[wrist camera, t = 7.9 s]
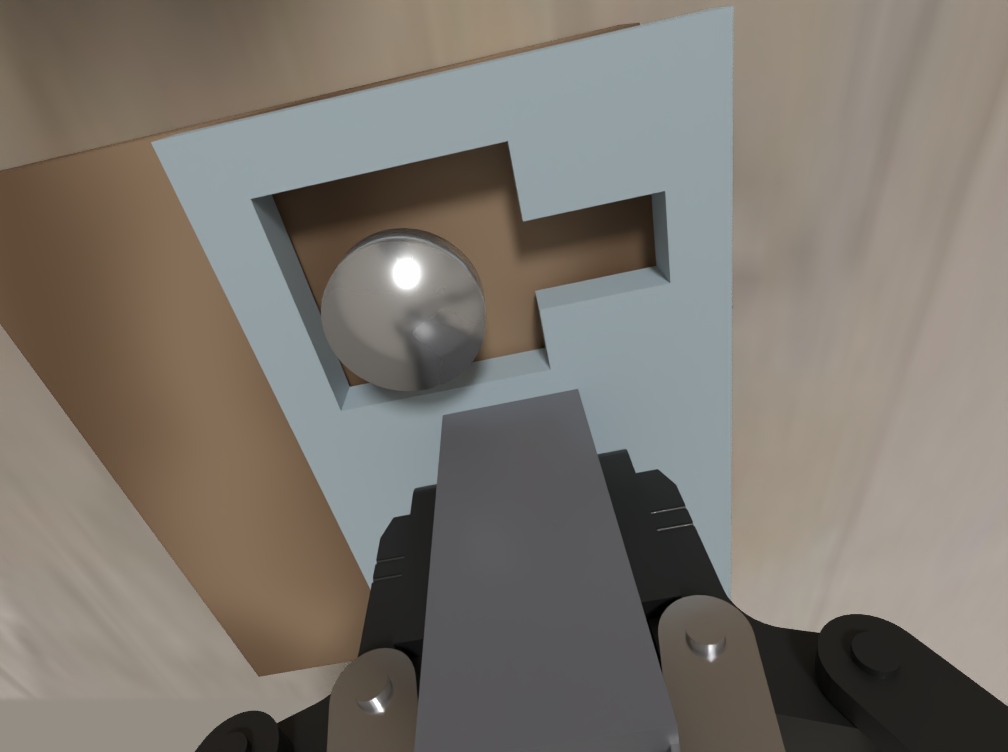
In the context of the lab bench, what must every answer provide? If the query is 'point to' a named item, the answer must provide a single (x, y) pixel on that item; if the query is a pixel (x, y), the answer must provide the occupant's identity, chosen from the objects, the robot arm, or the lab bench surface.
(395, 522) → the robot arm
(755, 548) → the lab bench surface
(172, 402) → the walnut board
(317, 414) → the keyhole panel
